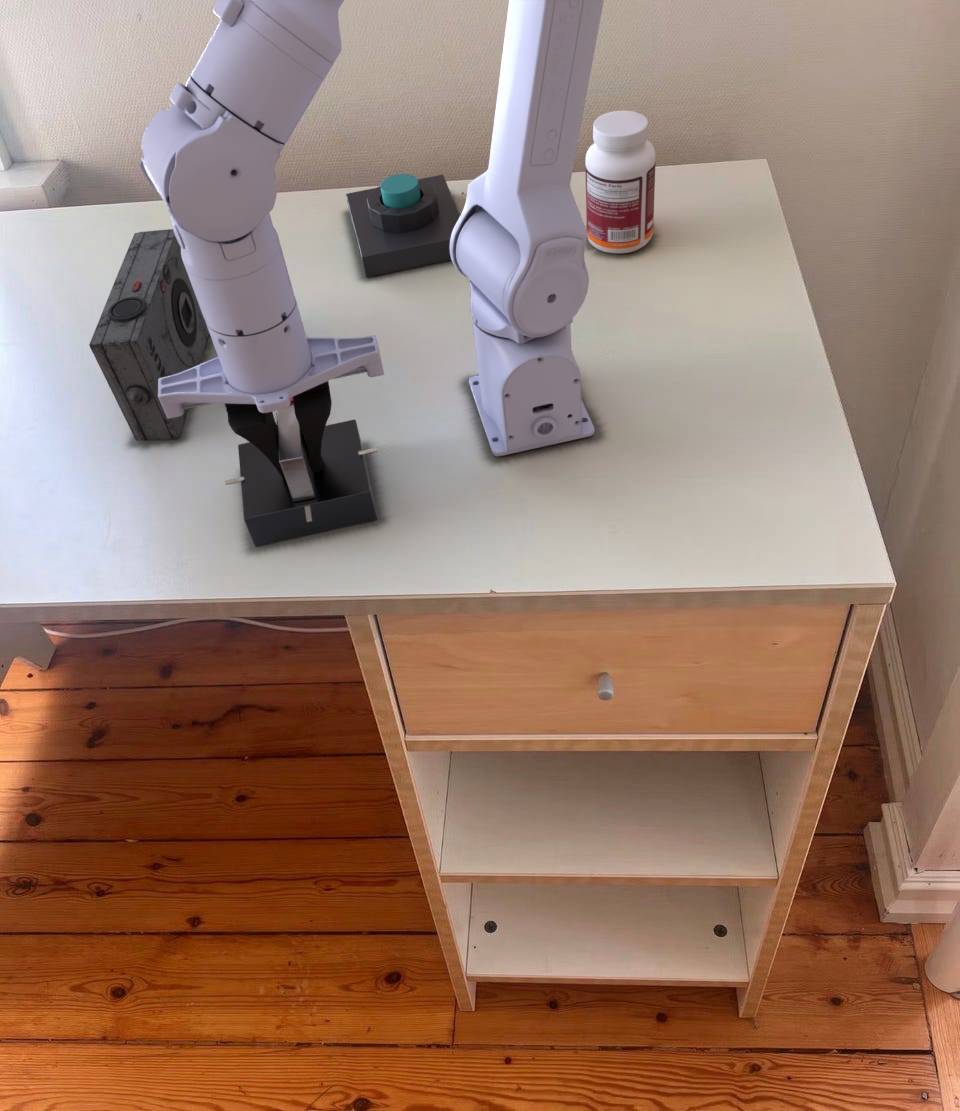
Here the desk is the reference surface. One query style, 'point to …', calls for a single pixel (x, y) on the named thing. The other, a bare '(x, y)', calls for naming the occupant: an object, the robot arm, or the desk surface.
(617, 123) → the pill bottle
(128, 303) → the camera
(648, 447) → the desk surface
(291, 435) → the red-tipped silver slab
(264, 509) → the tap deck
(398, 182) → the button
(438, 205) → the control block
